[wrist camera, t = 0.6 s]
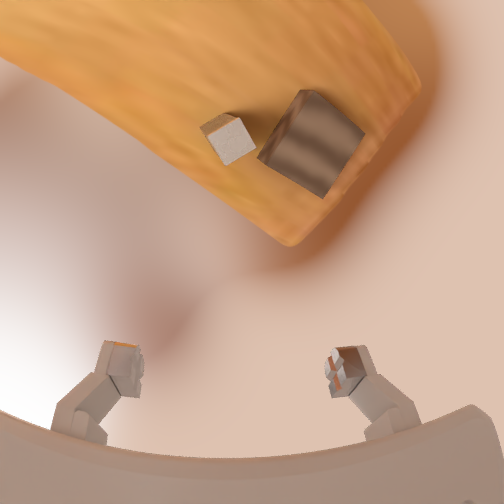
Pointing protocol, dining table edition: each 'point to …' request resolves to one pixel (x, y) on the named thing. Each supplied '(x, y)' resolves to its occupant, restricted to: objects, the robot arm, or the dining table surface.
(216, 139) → the slate tin
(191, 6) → the dining table surface
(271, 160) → the walnut box
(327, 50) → the dining table surface
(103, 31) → the dining table surface
